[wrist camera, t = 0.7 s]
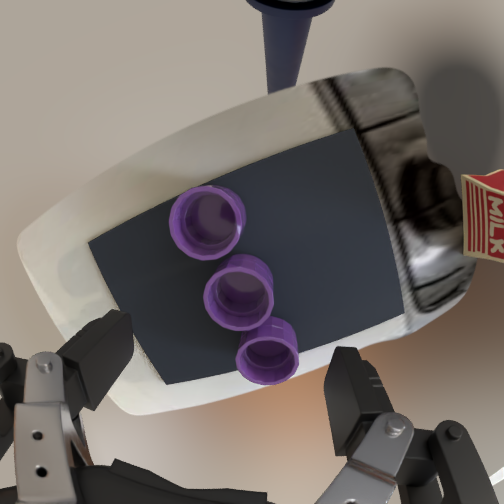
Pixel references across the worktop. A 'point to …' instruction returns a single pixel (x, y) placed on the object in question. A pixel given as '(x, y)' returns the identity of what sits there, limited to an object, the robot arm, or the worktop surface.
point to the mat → (270, 252)
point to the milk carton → (483, 215)
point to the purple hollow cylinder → (207, 221)
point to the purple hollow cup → (240, 293)
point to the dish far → (268, 352)
